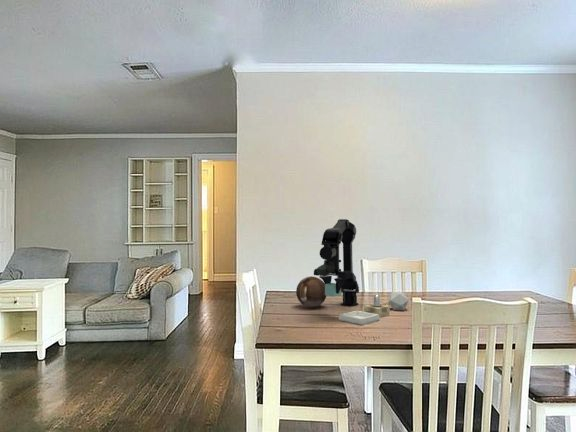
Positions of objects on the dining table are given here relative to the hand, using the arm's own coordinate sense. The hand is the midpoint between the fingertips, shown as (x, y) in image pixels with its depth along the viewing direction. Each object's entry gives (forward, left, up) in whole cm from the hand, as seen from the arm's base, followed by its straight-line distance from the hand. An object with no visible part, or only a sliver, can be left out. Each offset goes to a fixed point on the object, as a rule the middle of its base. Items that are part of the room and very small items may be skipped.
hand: (332, 292), depth 209 cm
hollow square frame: (+12, +16, -11) cm, 23 cm away
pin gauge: (+12, +16, -11) cm, 23 cm away
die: (+12, +33, -11) cm, 37 cm away
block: (0, 0, -1) cm, 1 cm away
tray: (+13, +2, -11) cm, 17 cm away
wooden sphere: (-21, +8, -11) cm, 25 cm away
